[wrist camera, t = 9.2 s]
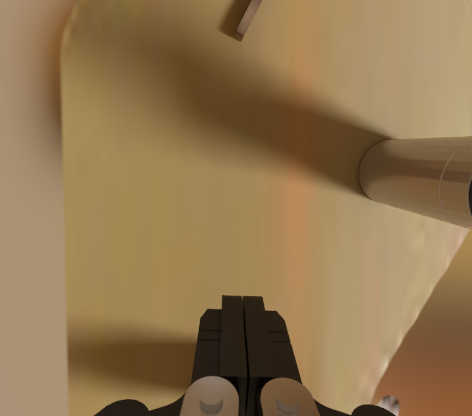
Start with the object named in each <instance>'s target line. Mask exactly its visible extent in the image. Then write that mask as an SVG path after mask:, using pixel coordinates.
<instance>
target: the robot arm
mask: <svg viewBox="0 0 472 416" xmlns="http://www.w3.org/2000/svg"><path fill="white" fill-rule="evenodd" d="M359 182H360V186H361V188H362V190H363V192H364V193H365V194H366V195H367V196H368V197H369V198H370V199H372V200H374V201H376V202H379V203H383V204H386V205H390V206H393V207H396V208H399V209H403V210H406V211H410V212H413V213H417V214H420V215H424V216H427V217H431V218H434V219H437V220H441V221H444V222H448V223H451V224H455V225H458V226H462V227H465V228H469V229H472V136H466V137H443V138H419V139H395V140H385V141H381V142H379V143H377V144H375V145H374V146H373V147H372V148H370V149H369V151H368V152H367V153H366V154H365V156H364V158H363V159H362V162H361V164H360V168H359ZM94 416H395V415H394V414H393V413H391V412H390V411H388V410H386V409H384V408H382V407H379V406H375V405H369V404H368V405H361V406H359V407H357V408H356V409H354V411H353V412H352V414H351V415H349V414H346V413H343V412H340V411H337V410H334V409H331V408H328V407H326V406H324V405H322V404H320V403H319V402H317V401H316V400H315V399H313V397H312V395H311V393H310V392H309V391H308V389H307V388H306V387H305V386H303V384H302V381H301V378H300V374H299V371H298V367H297V364H296V360H295V356H294V353H293V349H292V345H291V344H290V338H289V335H288V331H287V327H286V324H285V320H284V319H283V318H282V317H281V316H280V315H279V313H278V312H277V311H265V308H264V302H263V298H262V296H243V298H242V296H227V295H222V309H207V310H206V312H205V313H204V314H203V316H202V317H201V318H200V325H199V332H198V339H197V346H196V353H195V360H194V367H193V374H192V380H191V384H190V386H189V388H188V390H187V391H186V392H185V394H184V395H183V396H182V397H181V398H179V399H178V400H177V401H175V402H173V403H171V404H169V405H167V406H164V407H160V408H157V409H154V410H151V411H149V410H148V408H147V407H146V406H145V405H144V404H143V403H141V402H139V401H137V400H133V399H125V400H120V401H116V402H114V403H112V404H110V405H108V406H106V407H105V408H103V409H102V410H101V411H99V412H98V413H97V414H96V415H94Z"/></svg>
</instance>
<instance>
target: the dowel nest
mask: <svg viewBox="0 0 472 416" xmlns="http://www.w3.org/2000/svg"><path fill="white" fill-rule="evenodd" d="M261 1H262V0H252V1H251V2H250V4H249V6H248V8H247V10H246V12H245V14H244V16H243V18H242V20H241V22H240V24H239V26H238V28H237V30H236V33H235V35H234V37H235V38H236V39H238V40H239V41H241V40H242V38H243V36H244V34H245V33H246V31H247V29H248V27H249V25H250V23H251V21H252V19H253V17H254V15H255V13H256V11H257V9H258V7H259V5H260V3H261Z"/></svg>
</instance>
